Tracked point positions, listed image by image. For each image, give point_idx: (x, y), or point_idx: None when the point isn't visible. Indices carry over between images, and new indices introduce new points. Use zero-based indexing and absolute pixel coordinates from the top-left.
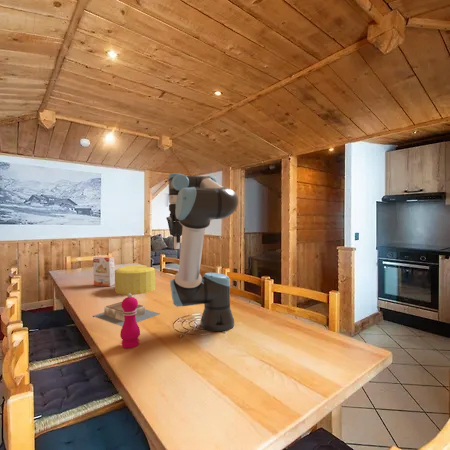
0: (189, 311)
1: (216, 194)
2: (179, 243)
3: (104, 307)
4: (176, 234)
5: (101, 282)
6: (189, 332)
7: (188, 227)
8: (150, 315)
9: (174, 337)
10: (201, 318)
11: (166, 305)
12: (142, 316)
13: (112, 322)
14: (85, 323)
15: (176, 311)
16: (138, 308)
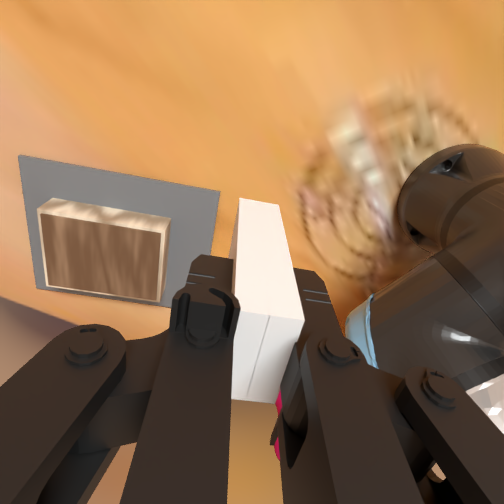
0: (303, 113)
1: None
2: (285, 242)
3: (48, 285)
4: (296, 449)
5: None
6: (382, 272)
7: None
8: (199, 220)
9: (357, 306)
10: (406, 221)
11: (159, 78)
12: (182, 237)
13: (143, 302)
14: (78, 323)
15: (252, 135)
16: (163, 253)
